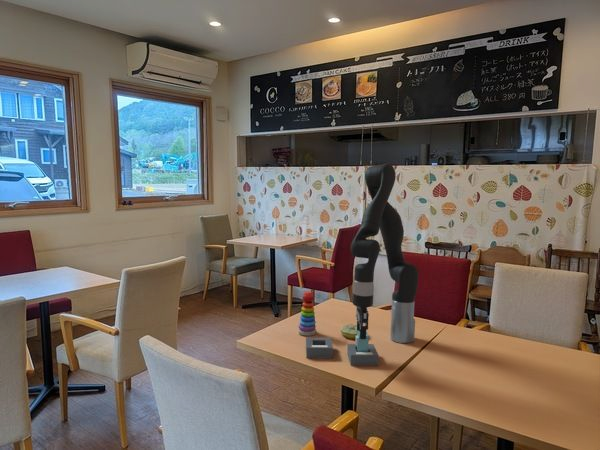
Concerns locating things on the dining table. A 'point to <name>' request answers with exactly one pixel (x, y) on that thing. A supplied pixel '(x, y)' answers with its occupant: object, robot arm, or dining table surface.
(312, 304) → the stacking toy
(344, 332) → the decorated donut
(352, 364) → the near socket block
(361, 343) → the plug
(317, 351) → the far socket block
